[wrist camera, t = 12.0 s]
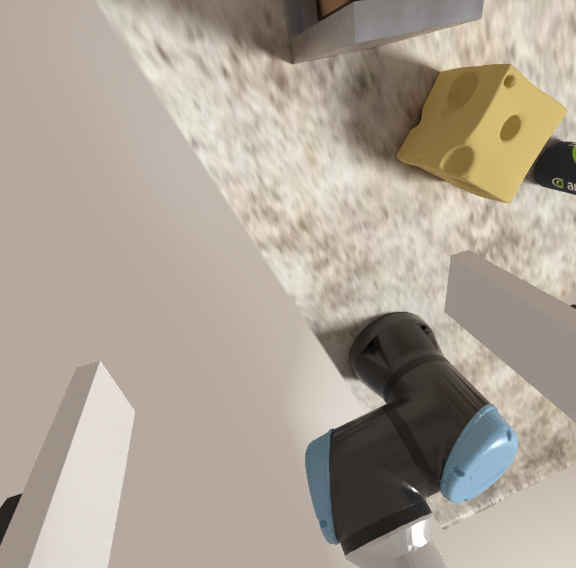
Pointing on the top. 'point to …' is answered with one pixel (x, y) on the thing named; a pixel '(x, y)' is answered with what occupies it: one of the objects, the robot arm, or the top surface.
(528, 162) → the cheese
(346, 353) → the top surface
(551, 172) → the beverage can
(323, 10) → the door panel
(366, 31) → the bottom track
